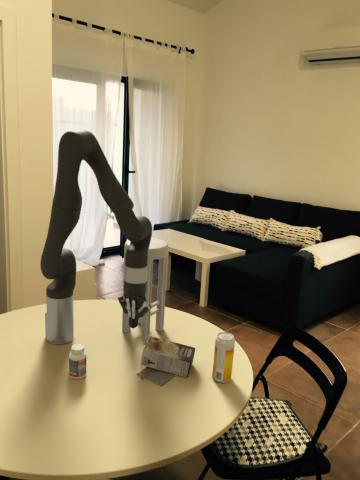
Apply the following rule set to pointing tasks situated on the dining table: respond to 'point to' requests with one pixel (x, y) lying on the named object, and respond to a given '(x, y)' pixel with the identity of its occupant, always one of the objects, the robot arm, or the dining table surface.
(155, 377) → the mat
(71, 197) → the robot arm
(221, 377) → the beer can
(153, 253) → the stool
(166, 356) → the coffee box
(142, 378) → the kerb
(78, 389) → the dining table surface
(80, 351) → the pill bottle
